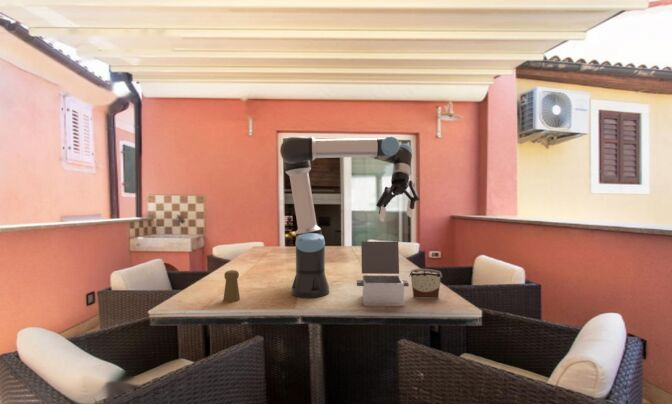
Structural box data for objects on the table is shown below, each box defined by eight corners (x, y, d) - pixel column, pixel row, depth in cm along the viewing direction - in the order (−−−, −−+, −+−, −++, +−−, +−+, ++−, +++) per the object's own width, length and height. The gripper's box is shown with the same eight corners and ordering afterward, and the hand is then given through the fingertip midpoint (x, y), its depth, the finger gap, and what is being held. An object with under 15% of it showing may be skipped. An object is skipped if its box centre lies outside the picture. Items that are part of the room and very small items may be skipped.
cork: (243, 299, 121) (242, 270, 121) (228, 303, 116) (228, 273, 116) (234, 296, 125) (234, 268, 125) (220, 299, 120) (220, 270, 120)
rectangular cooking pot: (357, 305, 113) (357, 283, 113) (356, 295, 125) (356, 275, 125) (410, 306, 112) (410, 283, 112) (404, 296, 124) (404, 275, 124)
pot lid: (361, 241, 127) (361, 241, 128) (361, 273, 125) (361, 273, 126) (398, 241, 127) (397, 241, 128) (399, 273, 125) (398, 273, 125)
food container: (438, 293, 127) (438, 268, 127) (442, 298, 121) (442, 272, 121) (407, 293, 128) (407, 268, 128) (409, 297, 122) (409, 271, 122)
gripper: (430, 173, 135) (426, 218, 126) (382, 185, 152) (376, 226, 143) (421, 163, 131) (416, 209, 121) (373, 178, 148) (365, 219, 138)
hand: (394, 218), depth 132 cm, fingers open, 13 cm apart
